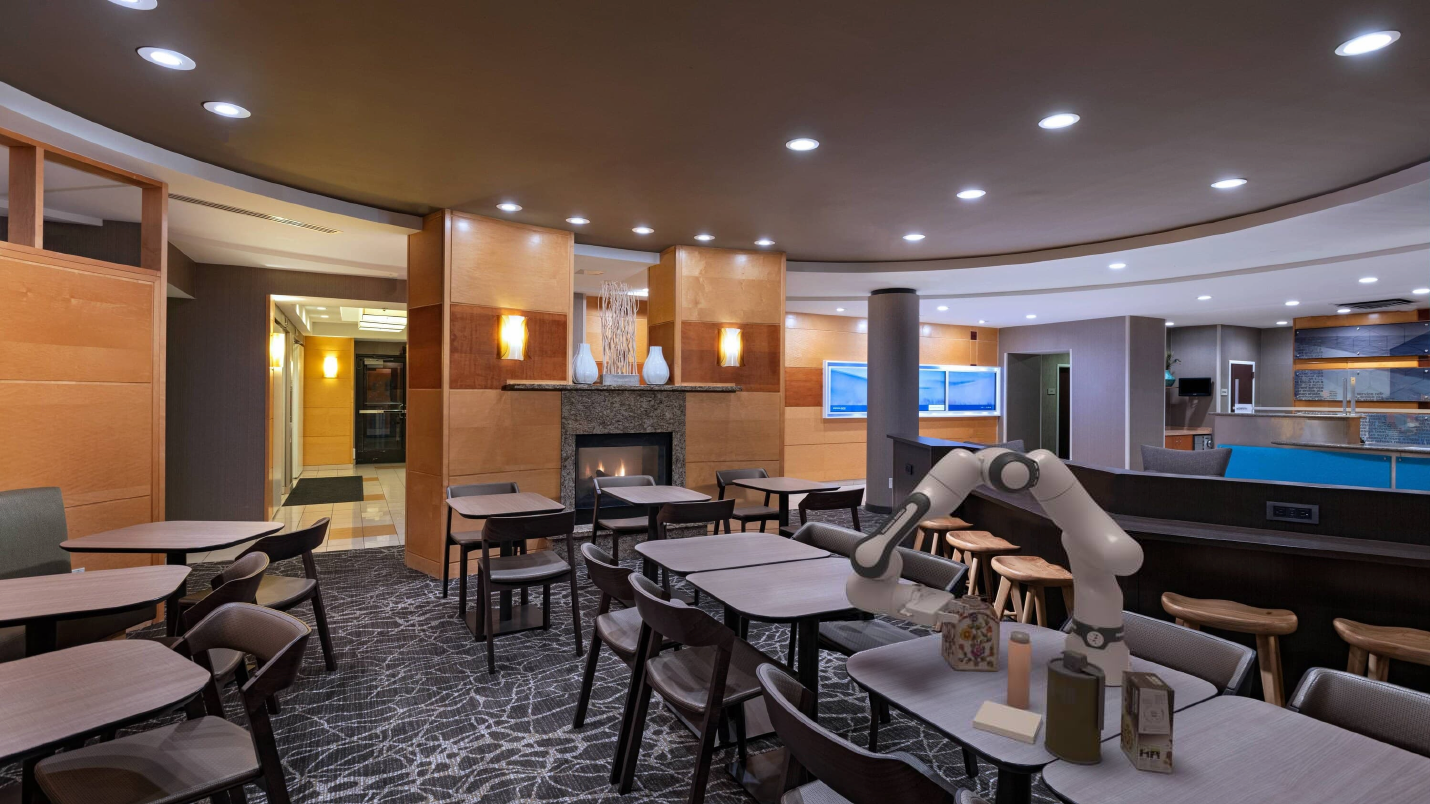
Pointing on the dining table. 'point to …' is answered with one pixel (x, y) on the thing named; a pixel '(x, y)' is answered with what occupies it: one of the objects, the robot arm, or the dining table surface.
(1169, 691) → the coffee box
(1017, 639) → the shaker
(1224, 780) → the dining table surface
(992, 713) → the board
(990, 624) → the decorative jar
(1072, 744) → the canister
